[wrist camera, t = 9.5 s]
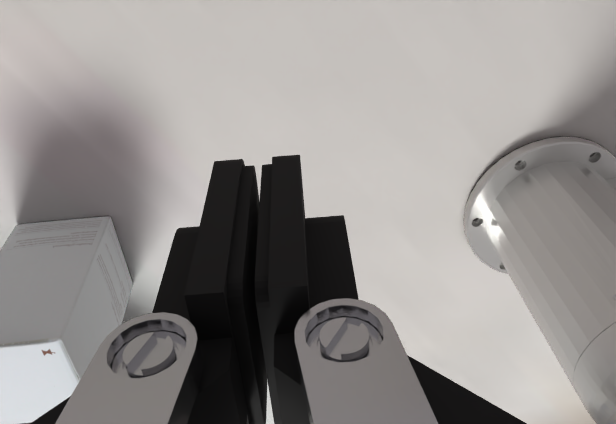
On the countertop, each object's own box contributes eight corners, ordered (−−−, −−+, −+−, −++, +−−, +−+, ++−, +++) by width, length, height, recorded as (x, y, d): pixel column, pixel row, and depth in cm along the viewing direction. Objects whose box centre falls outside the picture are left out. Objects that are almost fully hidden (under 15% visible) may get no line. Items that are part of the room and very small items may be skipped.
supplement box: (13, 222, 41) (-70, 351, 31) (112, 213, 42) (63, 339, 31) (45, 294, 45) (-19, 430, 35) (135, 287, 46) (98, 419, 35)
